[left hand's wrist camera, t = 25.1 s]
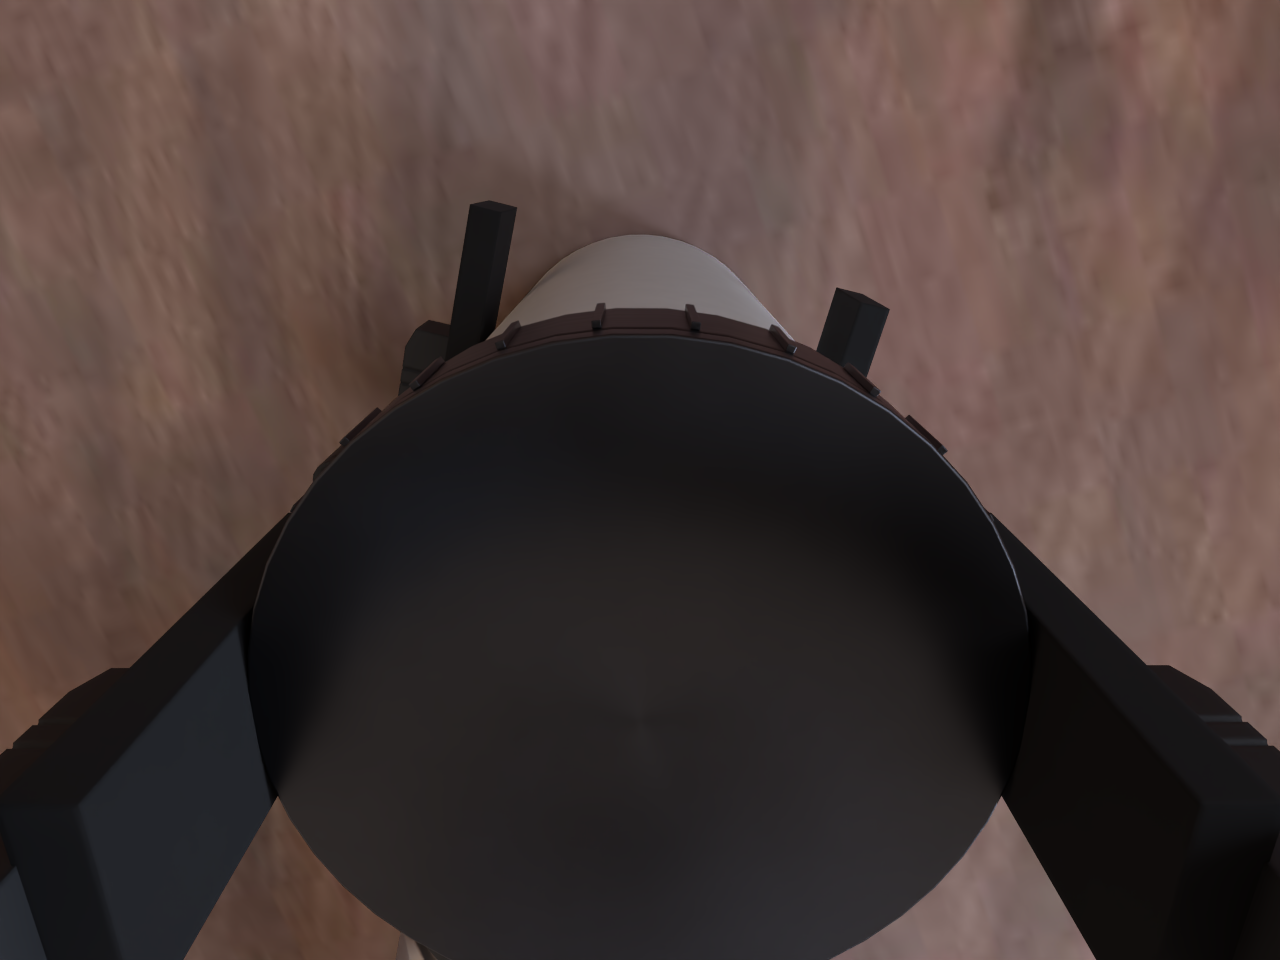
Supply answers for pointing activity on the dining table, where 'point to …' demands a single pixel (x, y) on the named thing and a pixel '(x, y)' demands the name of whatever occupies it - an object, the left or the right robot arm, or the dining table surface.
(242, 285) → the dining table surface
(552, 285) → the jar
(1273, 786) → the left robot arm
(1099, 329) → the dining table surface
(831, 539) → the lid
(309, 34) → the dining table surface
